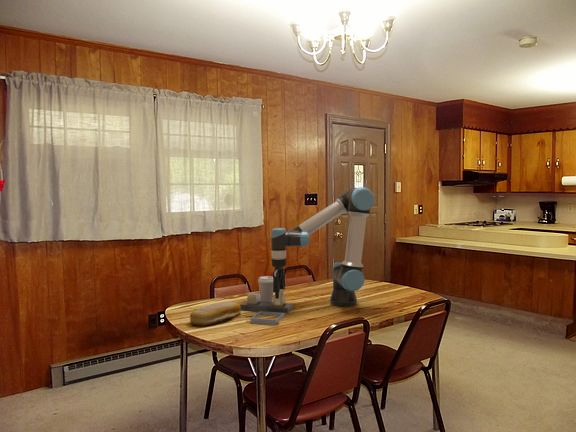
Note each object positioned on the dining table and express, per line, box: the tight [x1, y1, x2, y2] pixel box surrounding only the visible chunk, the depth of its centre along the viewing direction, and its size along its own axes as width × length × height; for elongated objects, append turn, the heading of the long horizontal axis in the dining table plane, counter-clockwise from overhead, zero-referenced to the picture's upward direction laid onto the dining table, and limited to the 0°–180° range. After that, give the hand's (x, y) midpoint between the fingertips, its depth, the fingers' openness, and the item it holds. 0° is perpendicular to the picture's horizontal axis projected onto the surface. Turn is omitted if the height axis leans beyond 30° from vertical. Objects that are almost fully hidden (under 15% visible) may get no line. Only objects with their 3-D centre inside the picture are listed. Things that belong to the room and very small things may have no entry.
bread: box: [189, 301, 242, 327], centre depth 214 cm, size 13×26×8 cm, turn 140°
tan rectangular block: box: [273, 293, 286, 307], centre depth 227 cm, size 5×5×8 cm
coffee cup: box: [257, 275, 274, 302], centre depth 244 cm, size 10×10×15 cm
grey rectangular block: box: [246, 292, 260, 305], centre depth 231 cm, size 5×5×8 cm
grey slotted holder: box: [239, 300, 293, 315], centre depth 229 cm, size 26×9×4 cm, turn 74°
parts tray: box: [250, 311, 286, 326], centre depth 213 cm, size 13×13×2 cm
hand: (279, 303), depth 227 cm, fingers closed on tan rectangular block, 5 cm apart
